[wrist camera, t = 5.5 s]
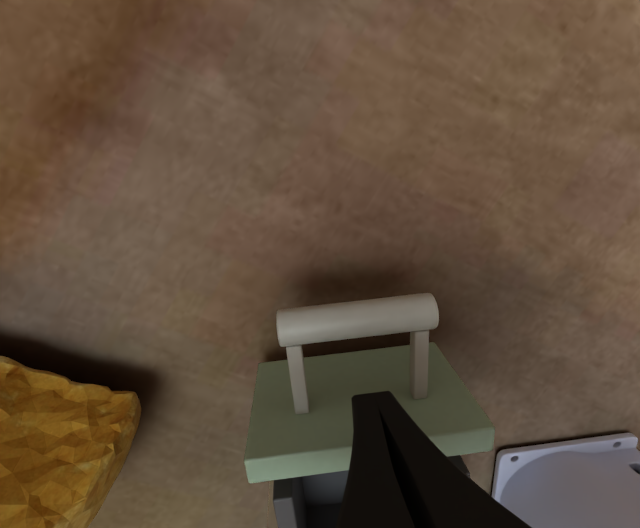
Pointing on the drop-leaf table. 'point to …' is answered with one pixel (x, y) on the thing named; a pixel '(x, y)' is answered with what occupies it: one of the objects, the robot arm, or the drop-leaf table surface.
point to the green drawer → (350, 401)
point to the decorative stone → (59, 446)
